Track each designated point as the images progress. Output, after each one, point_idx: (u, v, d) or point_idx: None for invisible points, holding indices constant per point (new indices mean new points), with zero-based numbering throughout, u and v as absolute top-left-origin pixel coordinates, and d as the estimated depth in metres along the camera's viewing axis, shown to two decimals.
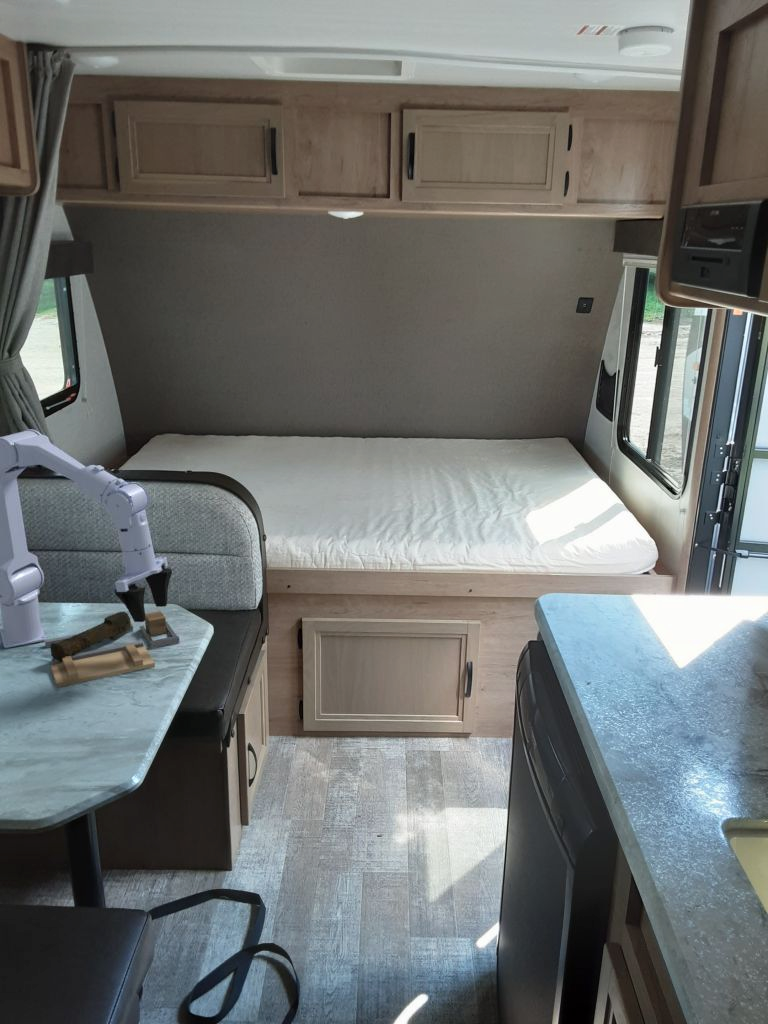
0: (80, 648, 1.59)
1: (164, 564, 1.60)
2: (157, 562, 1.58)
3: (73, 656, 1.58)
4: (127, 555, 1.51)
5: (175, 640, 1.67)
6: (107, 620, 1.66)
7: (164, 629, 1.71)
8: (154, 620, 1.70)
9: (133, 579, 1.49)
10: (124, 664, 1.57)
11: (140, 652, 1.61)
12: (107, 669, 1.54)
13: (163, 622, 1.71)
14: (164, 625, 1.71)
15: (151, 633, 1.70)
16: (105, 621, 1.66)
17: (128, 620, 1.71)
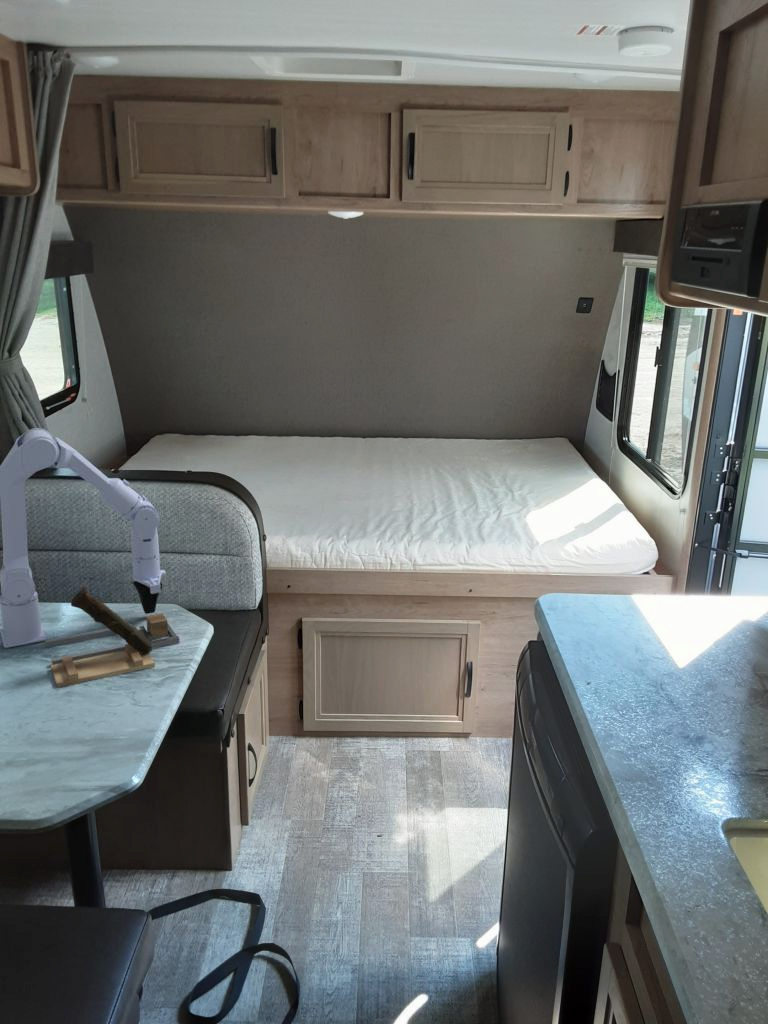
0: None
1: None
2: None
3: (73, 656, 1.58)
4: (147, 562, 1.73)
5: (175, 640, 1.67)
6: (128, 637, 1.58)
7: (166, 632, 1.70)
8: (155, 623, 1.69)
9: (159, 581, 1.73)
10: (124, 664, 1.57)
11: (140, 652, 1.61)
12: (107, 669, 1.54)
13: (165, 624, 1.70)
14: (166, 628, 1.70)
15: (153, 636, 1.69)
16: (129, 635, 1.59)
17: None
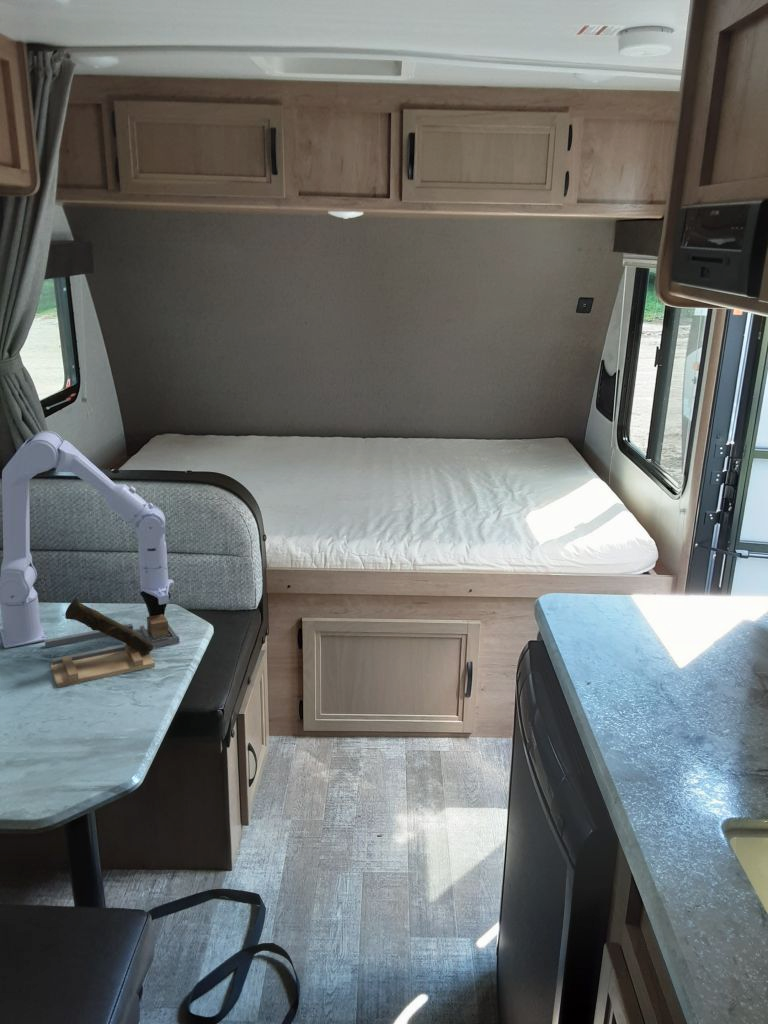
0: None
1: None
2: None
3: (73, 656, 1.58)
4: (155, 572, 1.68)
5: (175, 640, 1.67)
6: (129, 640, 1.58)
7: (166, 632, 1.70)
8: (156, 624, 1.68)
9: (167, 591, 1.68)
10: (124, 664, 1.57)
11: (140, 652, 1.61)
12: (107, 669, 1.54)
13: (165, 625, 1.69)
14: (166, 628, 1.70)
15: (153, 636, 1.69)
16: (129, 637, 1.58)
17: None
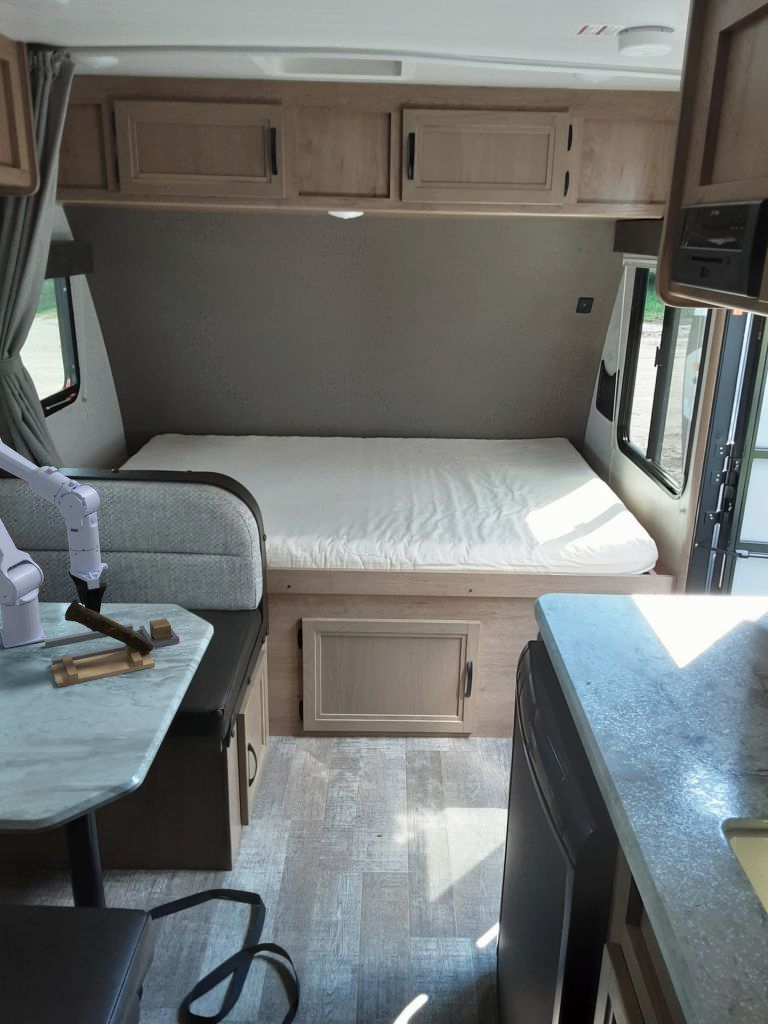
0: None
1: None
2: None
3: (73, 656, 1.58)
4: (85, 554, 1.56)
5: (175, 640, 1.67)
6: (129, 640, 1.58)
7: None
8: (159, 628, 1.66)
9: (98, 575, 1.56)
10: (124, 664, 1.57)
11: (140, 652, 1.61)
12: (107, 669, 1.54)
13: (168, 629, 1.67)
14: (169, 633, 1.68)
15: None
16: (129, 637, 1.58)
17: None
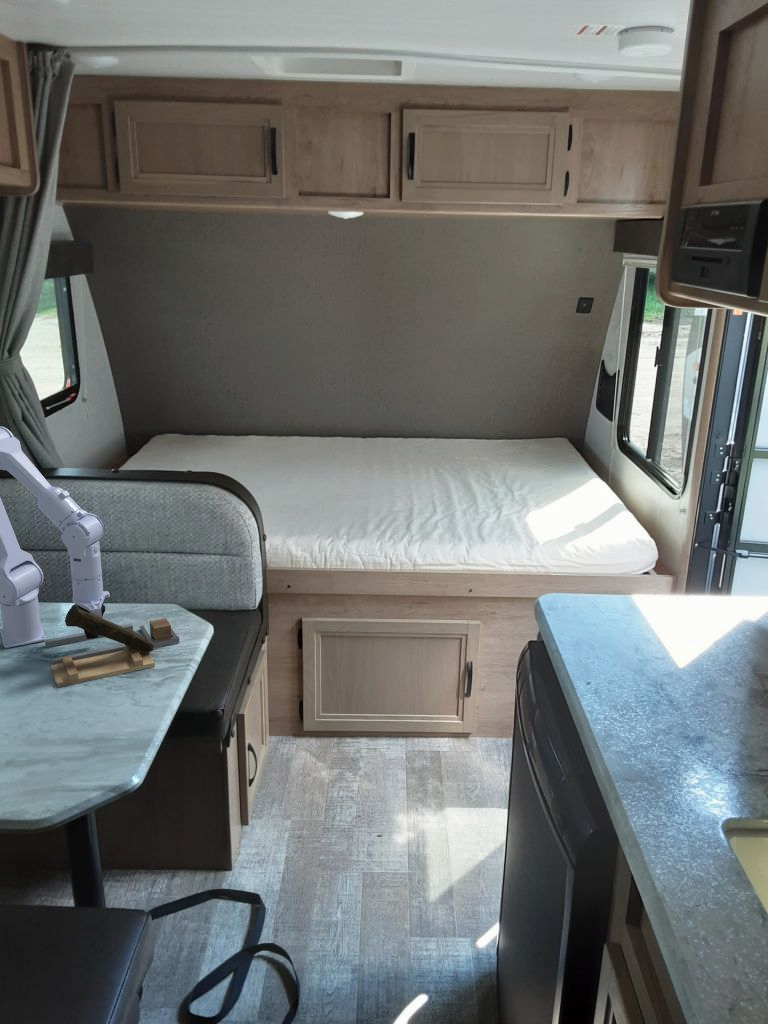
0: None
1: None
2: None
3: (73, 656, 1.58)
4: (87, 583, 1.58)
5: (175, 640, 1.67)
6: (130, 642, 1.58)
7: None
8: (159, 628, 1.66)
9: (101, 604, 1.58)
10: (124, 664, 1.57)
11: (140, 652, 1.61)
12: (107, 669, 1.54)
13: (168, 629, 1.67)
14: (169, 633, 1.68)
15: None
16: (130, 639, 1.58)
17: None
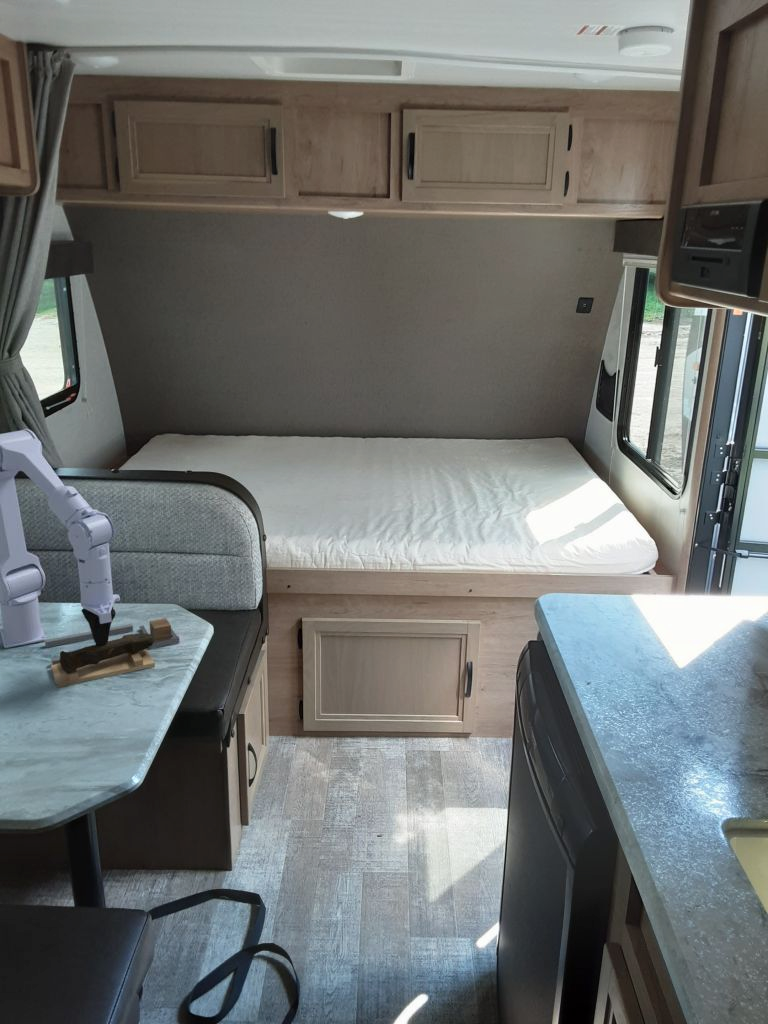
0: None
1: None
2: None
3: None
4: (96, 586, 1.49)
5: (175, 640, 1.67)
6: (131, 648, 1.57)
7: None
8: (159, 628, 1.66)
9: (110, 609, 1.49)
10: (124, 664, 1.57)
11: (140, 652, 1.61)
12: (107, 669, 1.54)
13: (168, 629, 1.67)
14: (169, 633, 1.68)
15: None
16: (130, 646, 1.57)
17: None
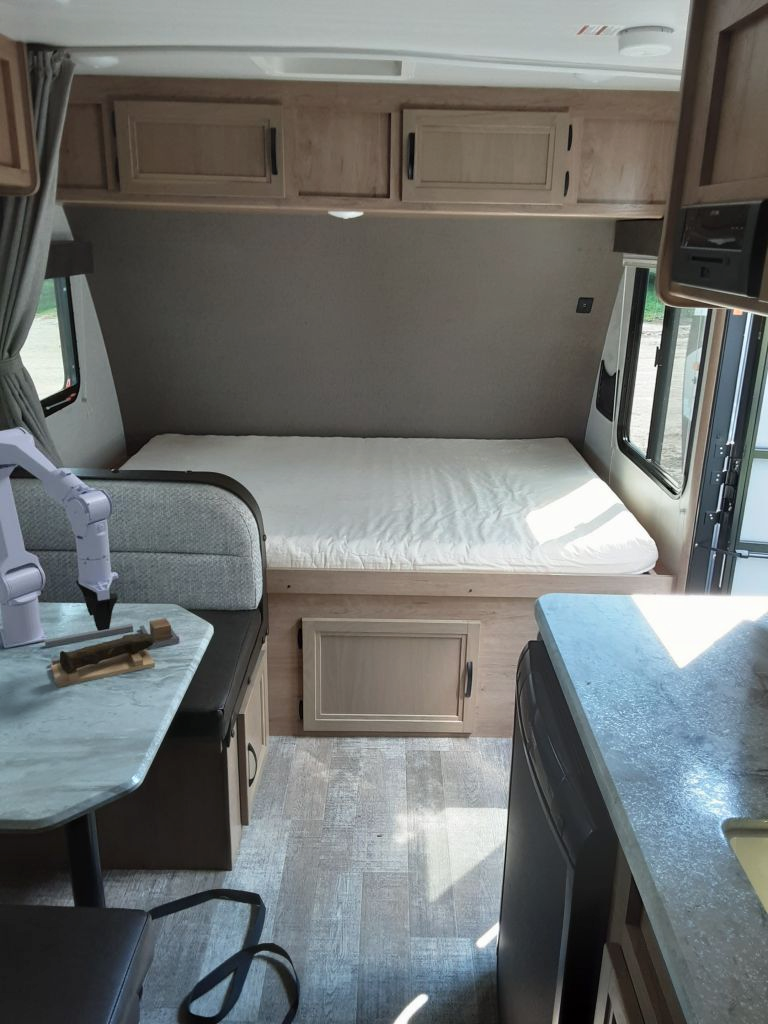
0: None
1: None
2: None
3: None
4: (94, 563, 1.47)
5: (175, 640, 1.67)
6: (131, 648, 1.57)
7: None
8: (159, 628, 1.66)
9: (109, 586, 1.48)
10: (124, 664, 1.57)
11: (140, 652, 1.61)
12: (107, 669, 1.54)
13: (168, 629, 1.67)
14: (169, 633, 1.68)
15: None
16: (130, 646, 1.57)
17: None
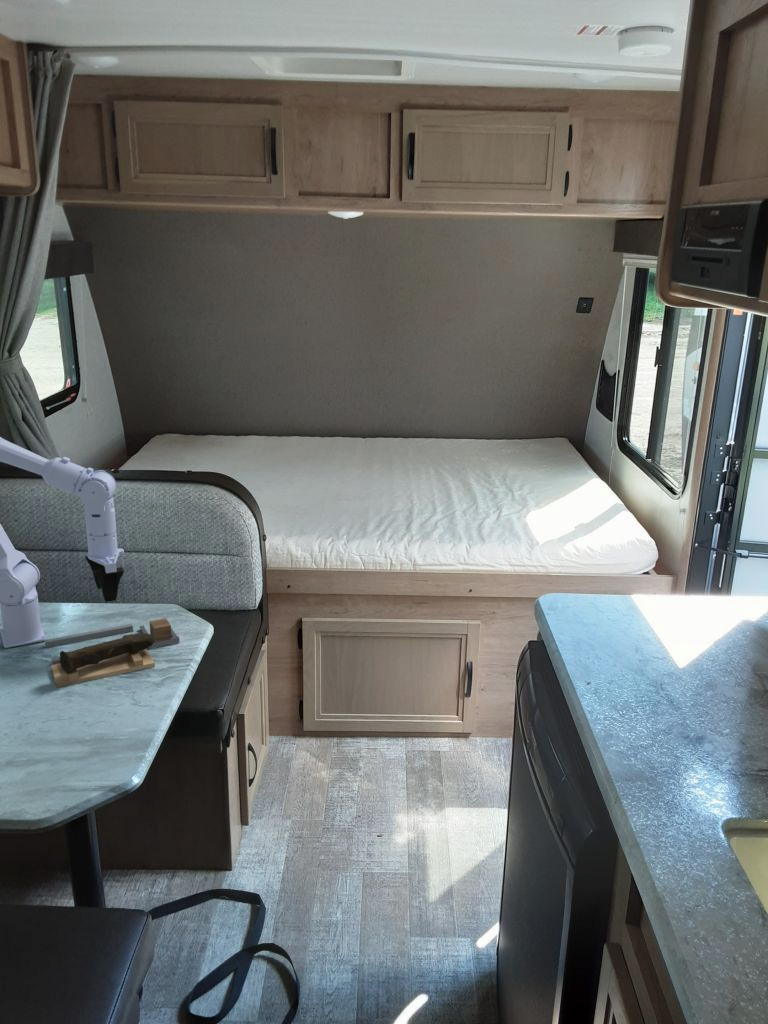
0: None
1: None
2: None
3: None
4: (102, 539, 1.60)
5: (175, 640, 1.67)
6: (131, 648, 1.57)
7: None
8: (159, 628, 1.66)
9: (115, 560, 1.60)
10: (124, 664, 1.57)
11: (140, 652, 1.61)
12: (107, 669, 1.54)
13: (168, 629, 1.67)
14: (169, 633, 1.68)
15: None
16: (130, 646, 1.57)
17: None
